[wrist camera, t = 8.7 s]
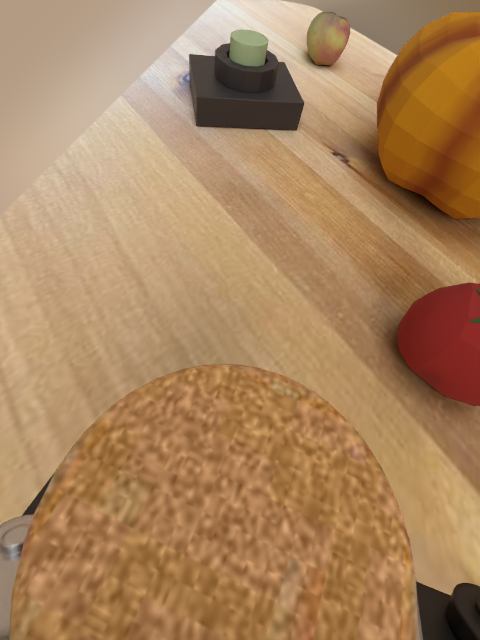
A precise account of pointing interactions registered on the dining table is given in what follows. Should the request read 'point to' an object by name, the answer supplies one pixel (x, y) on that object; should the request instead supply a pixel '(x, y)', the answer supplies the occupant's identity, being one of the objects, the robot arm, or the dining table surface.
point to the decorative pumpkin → (435, 115)
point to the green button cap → (248, 48)
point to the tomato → (445, 341)
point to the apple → (327, 38)
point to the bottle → (217, 522)
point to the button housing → (243, 93)
